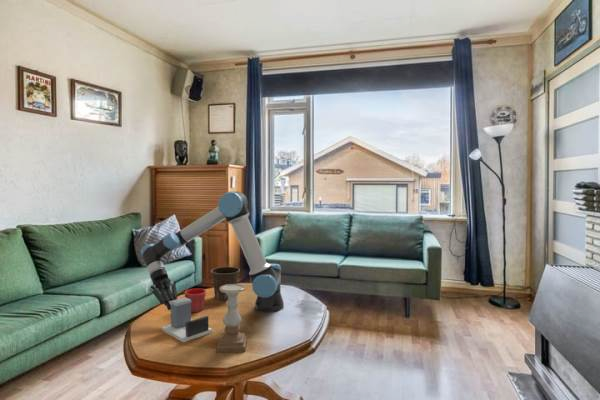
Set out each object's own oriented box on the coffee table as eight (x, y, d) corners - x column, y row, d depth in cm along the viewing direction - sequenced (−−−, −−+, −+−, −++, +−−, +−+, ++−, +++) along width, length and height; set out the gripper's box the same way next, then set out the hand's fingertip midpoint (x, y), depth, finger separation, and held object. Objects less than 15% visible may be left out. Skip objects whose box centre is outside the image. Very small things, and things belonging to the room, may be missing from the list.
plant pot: (230, 303, 194) (230, 274, 193) (205, 300, 200) (205, 271, 199) (245, 295, 209) (245, 268, 209) (221, 292, 215) (221, 265, 214)
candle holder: (220, 340, 148) (220, 283, 147) (246, 339, 149) (247, 283, 148) (216, 352, 137) (216, 291, 136) (245, 352, 138) (245, 290, 137)
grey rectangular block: (170, 325, 159) (170, 300, 159) (185, 320, 165) (185, 297, 164) (176, 328, 156) (176, 303, 155) (191, 323, 161) (191, 299, 161)
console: (161, 330, 158) (161, 313, 157) (190, 321, 168) (190, 305, 168) (183, 342, 146) (183, 324, 145) (212, 332, 156) (212, 315, 156)
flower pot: (209, 306, 189) (209, 288, 189) (201, 314, 178) (201, 294, 178) (189, 305, 190) (189, 287, 190) (180, 313, 179) (180, 293, 179)
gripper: (167, 274, 180) (185, 315, 170) (142, 279, 171) (158, 323, 160) (172, 265, 177) (191, 307, 166) (146, 270, 167) (164, 314, 156)
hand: (175, 314), depth 163 cm, fingers closed
